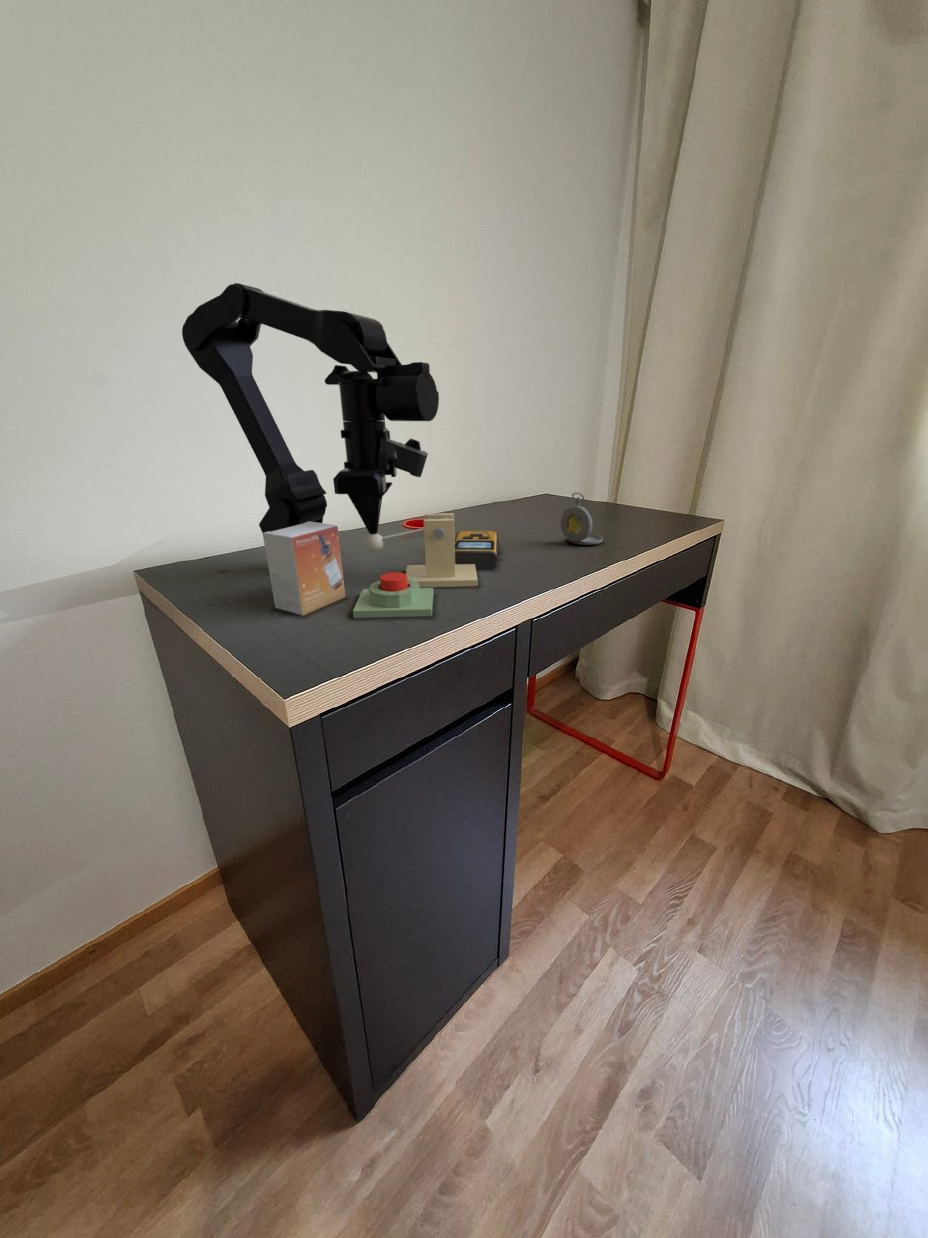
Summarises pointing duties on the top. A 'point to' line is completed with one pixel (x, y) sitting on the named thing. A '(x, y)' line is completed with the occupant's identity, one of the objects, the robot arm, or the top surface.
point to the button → (393, 582)
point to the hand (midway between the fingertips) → (373, 533)
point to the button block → (394, 602)
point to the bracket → (441, 556)
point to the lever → (391, 539)
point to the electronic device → (477, 548)
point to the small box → (304, 566)
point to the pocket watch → (579, 525)
